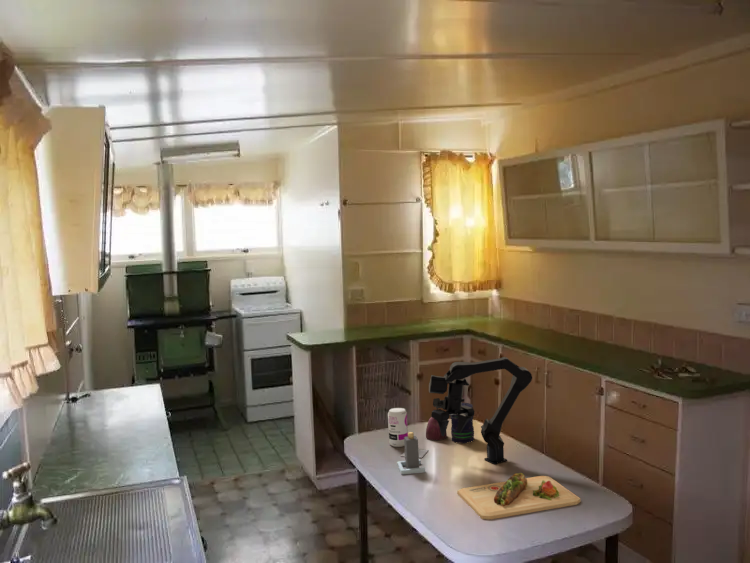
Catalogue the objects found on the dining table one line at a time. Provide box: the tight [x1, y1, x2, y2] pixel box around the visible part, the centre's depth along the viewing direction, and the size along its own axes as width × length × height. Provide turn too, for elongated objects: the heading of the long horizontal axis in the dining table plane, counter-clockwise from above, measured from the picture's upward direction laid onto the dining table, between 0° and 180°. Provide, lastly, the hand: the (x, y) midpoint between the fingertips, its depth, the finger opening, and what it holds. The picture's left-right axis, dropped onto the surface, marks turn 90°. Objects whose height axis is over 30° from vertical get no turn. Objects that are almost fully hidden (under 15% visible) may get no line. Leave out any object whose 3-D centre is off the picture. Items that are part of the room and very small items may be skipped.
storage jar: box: [449, 402, 475, 444], centre depth 281 cm, size 10×10×15 cm
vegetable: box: [425, 416, 448, 441], centre depth 285 cm, size 10×9×14 cm
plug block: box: [404, 431, 420, 469], centre depth 250 cm, size 4×4×14 cm
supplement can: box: [387, 407, 409, 448], centre depth 279 cm, size 8×8×15 cm
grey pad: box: [400, 448, 429, 459], centre depth 267 cm, size 9×9×1 cm
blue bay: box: [396, 458, 426, 475], centre depth 251 cm, size 9×10×2 cm
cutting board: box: [456, 472, 581, 521], centre depth 219 cm, size 35×23×8 cm
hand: (450, 434), depth 254 cm, fingers open, 9 cm apart
